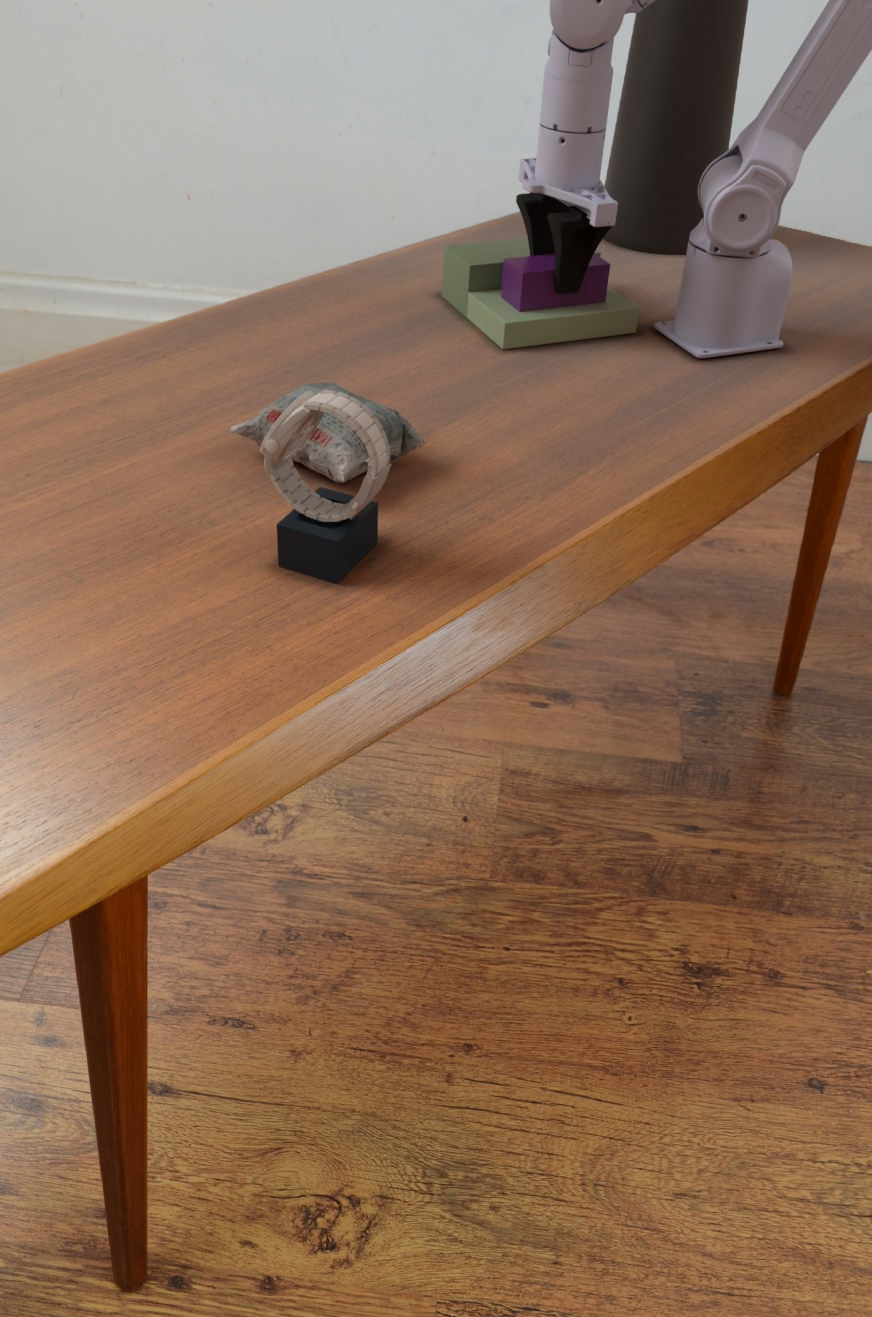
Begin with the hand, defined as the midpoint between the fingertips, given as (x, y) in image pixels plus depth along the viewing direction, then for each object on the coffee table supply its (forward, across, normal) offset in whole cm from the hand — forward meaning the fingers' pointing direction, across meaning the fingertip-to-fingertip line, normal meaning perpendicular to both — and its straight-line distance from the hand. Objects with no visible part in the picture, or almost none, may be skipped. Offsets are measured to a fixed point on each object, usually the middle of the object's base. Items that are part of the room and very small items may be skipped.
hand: (555, 283), depth 106 cm
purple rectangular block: (+2, 0, 0) cm, 2 cm away
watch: (+4, +32, -33) cm, 46 cm away
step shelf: (+4, -4, 0) cm, 6 cm away
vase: (+4, -22, +25) cm, 33 cm away
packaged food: (+4, +20, -29) cm, 35 cm away
